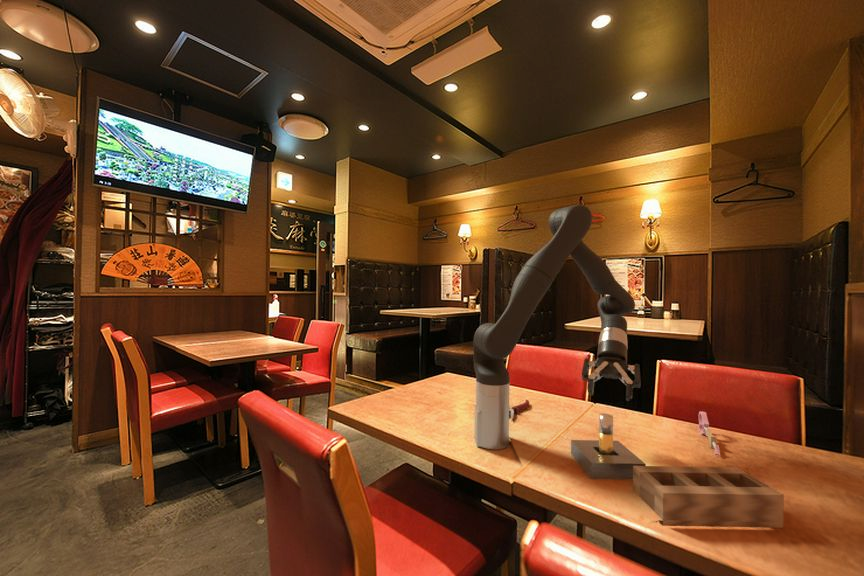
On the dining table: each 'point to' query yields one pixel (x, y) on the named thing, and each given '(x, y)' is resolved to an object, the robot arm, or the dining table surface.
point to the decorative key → (707, 431)
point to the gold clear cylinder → (605, 434)
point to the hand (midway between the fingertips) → (609, 396)
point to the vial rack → (708, 496)
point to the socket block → (605, 460)
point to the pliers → (518, 408)
